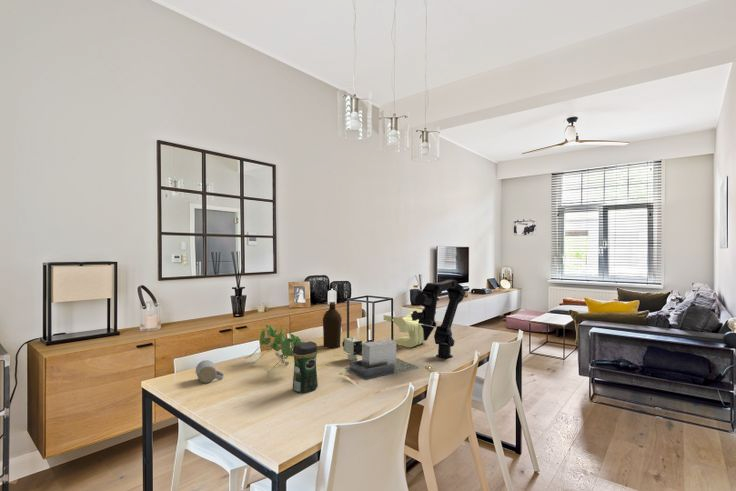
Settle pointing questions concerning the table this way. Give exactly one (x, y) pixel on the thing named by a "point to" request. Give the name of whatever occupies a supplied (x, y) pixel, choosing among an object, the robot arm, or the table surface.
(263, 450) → the table surface
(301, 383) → the coffee jar
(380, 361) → the block
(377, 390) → the table surface
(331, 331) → the olive oil
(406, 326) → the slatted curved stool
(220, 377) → the ceramic mug
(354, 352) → the pneumatic valve
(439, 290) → the robot arm
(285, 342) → the plant cuttings
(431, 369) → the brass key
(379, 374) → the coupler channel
